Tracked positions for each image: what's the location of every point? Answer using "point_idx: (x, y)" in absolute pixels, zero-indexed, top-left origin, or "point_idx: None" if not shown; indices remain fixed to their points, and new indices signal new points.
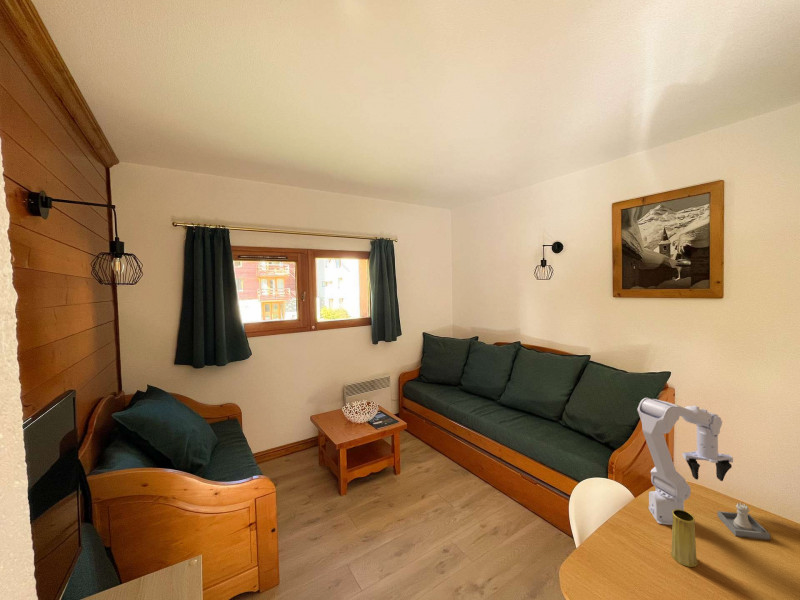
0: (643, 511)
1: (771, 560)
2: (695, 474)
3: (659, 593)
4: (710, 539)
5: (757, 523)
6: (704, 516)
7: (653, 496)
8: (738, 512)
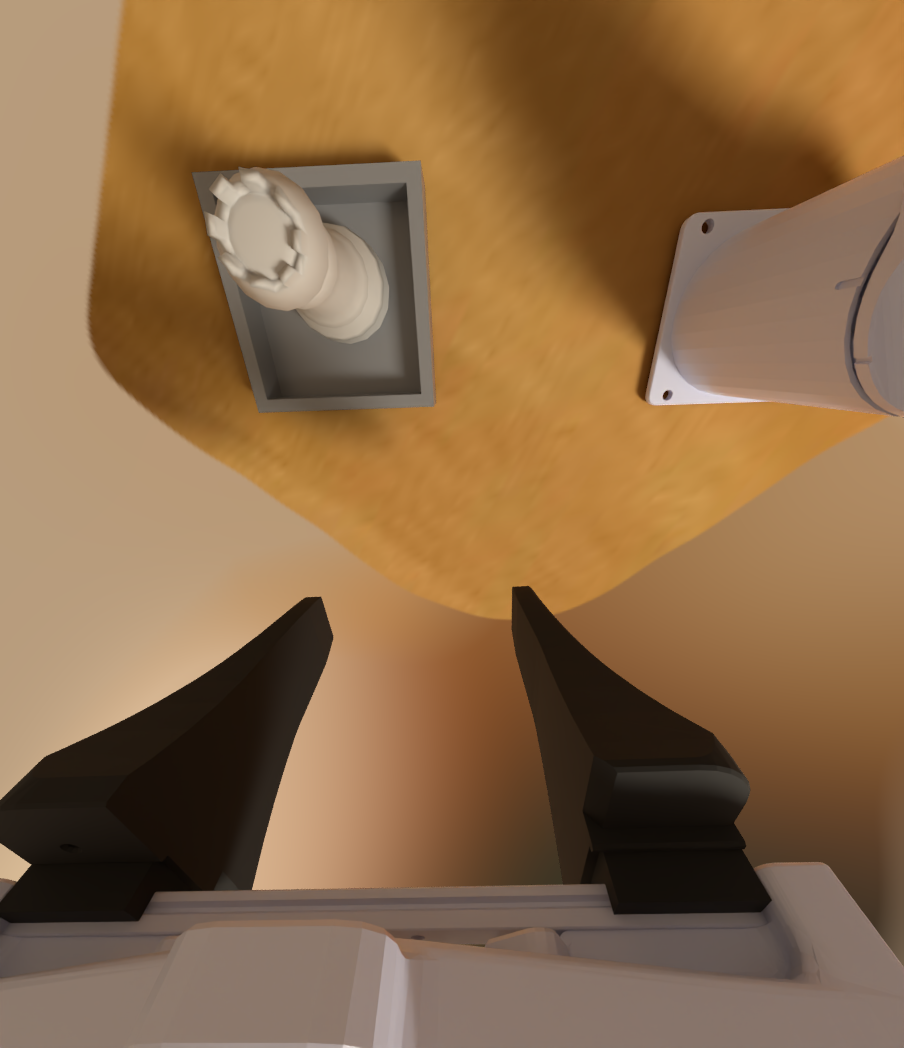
0: None
1: None
2: (556, 619)
3: None
4: (626, 78)
5: (240, 310)
6: (511, 384)
7: None
8: (331, 242)
